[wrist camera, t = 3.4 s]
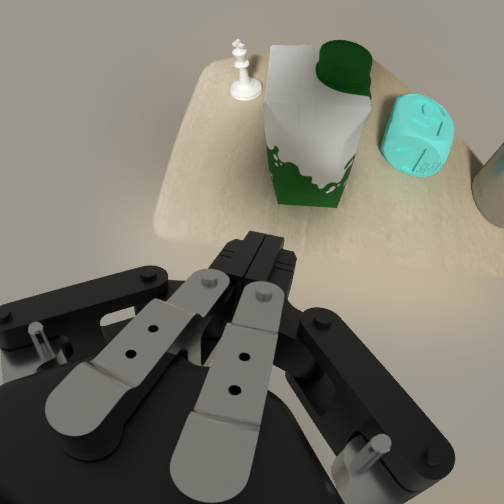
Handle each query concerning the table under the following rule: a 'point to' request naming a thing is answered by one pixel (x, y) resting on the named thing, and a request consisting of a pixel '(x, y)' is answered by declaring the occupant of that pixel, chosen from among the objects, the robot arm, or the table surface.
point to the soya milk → (315, 118)
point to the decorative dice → (417, 135)
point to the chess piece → (244, 76)
